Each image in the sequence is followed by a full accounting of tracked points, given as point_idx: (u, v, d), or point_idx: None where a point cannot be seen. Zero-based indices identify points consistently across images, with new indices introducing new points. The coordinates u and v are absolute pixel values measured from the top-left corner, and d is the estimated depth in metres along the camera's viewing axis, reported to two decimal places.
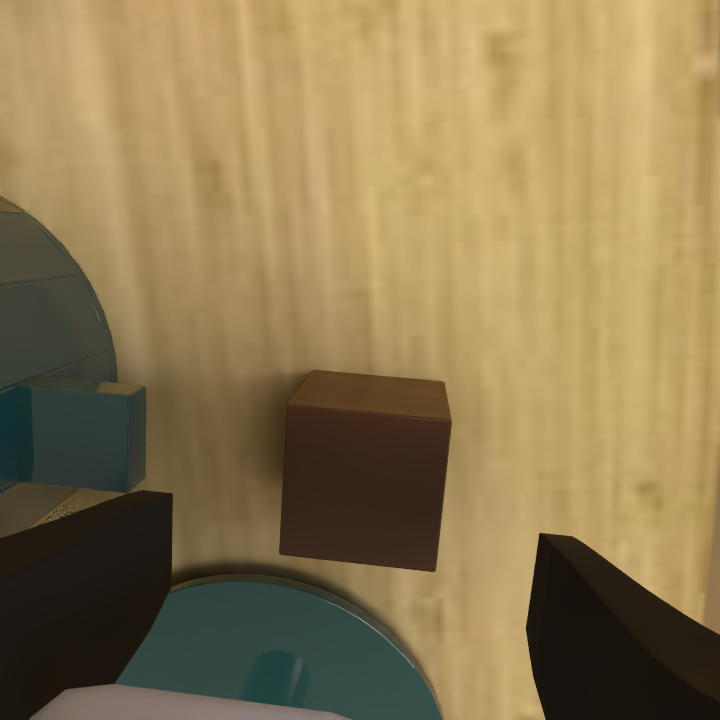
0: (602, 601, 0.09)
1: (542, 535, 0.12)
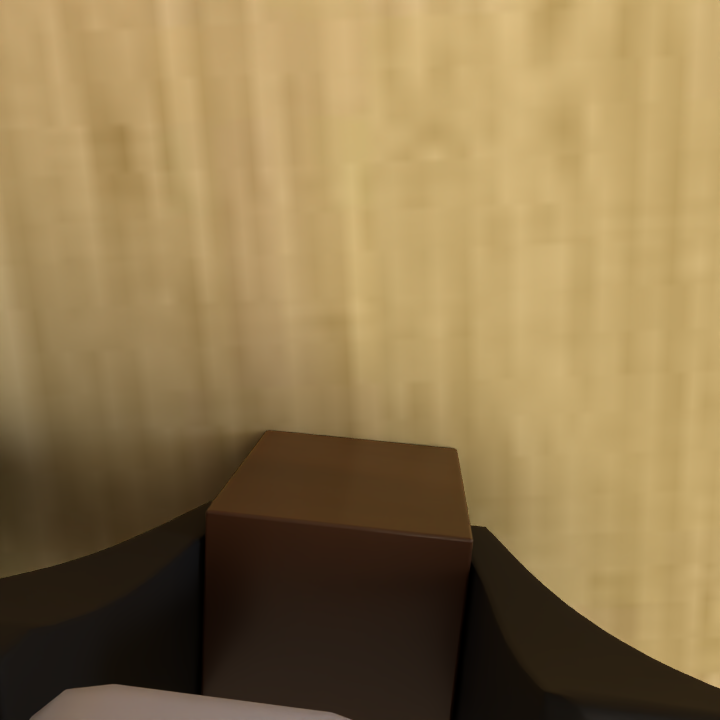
0: (484, 587, 0.09)
1: None
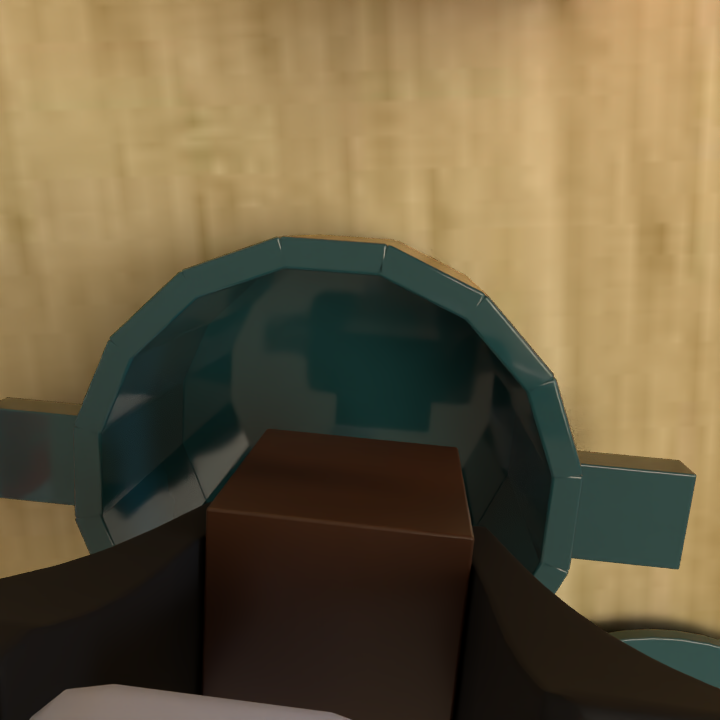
0: (484, 587, 0.09)
1: None
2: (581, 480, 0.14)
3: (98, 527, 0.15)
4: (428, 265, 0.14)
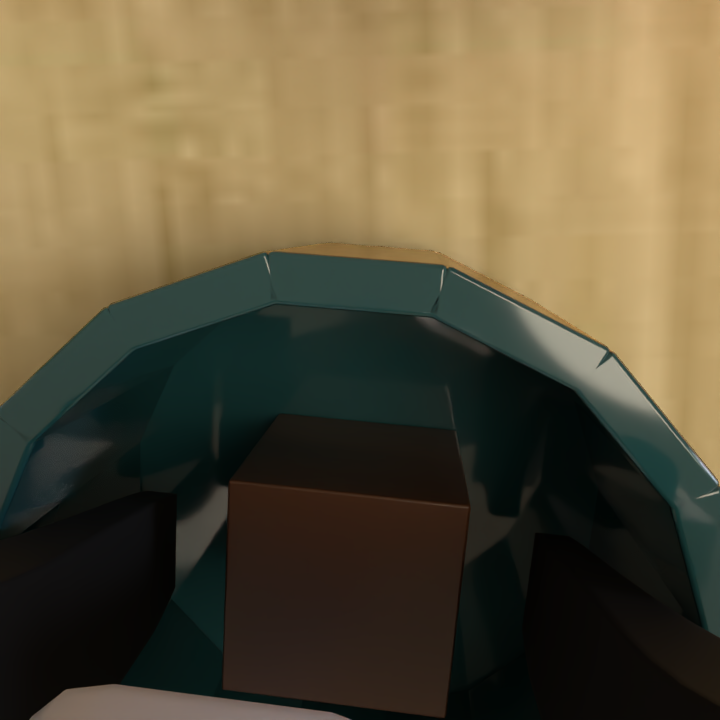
0: (596, 600, 0.09)
1: (538, 535, 0.12)
2: None
3: None
4: (515, 301, 0.08)
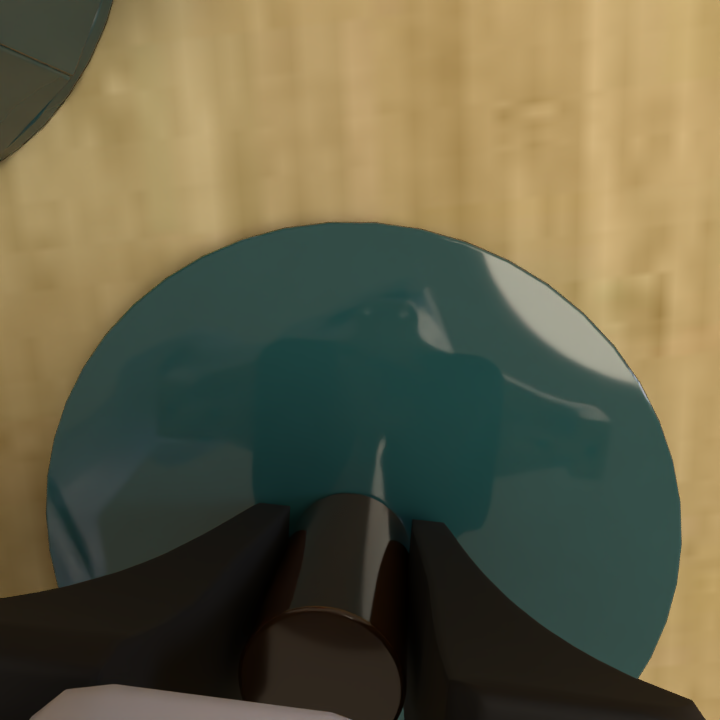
0: (428, 581, 0.09)
1: (412, 521, 0.12)
2: None
3: None
4: None
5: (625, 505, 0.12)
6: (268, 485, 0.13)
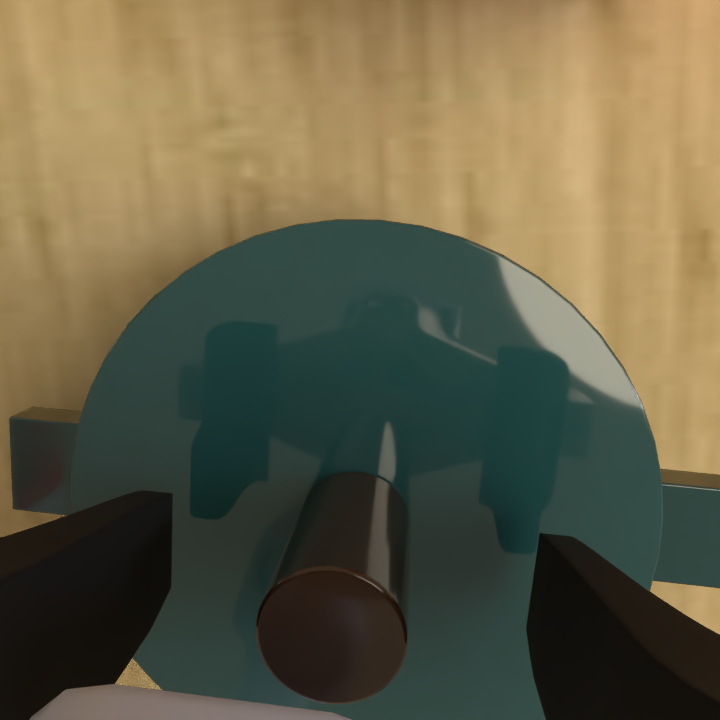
0: (602, 601, 0.09)
1: (542, 535, 0.12)
2: None
3: None
4: None
5: (611, 482, 0.13)
6: (279, 465, 0.14)
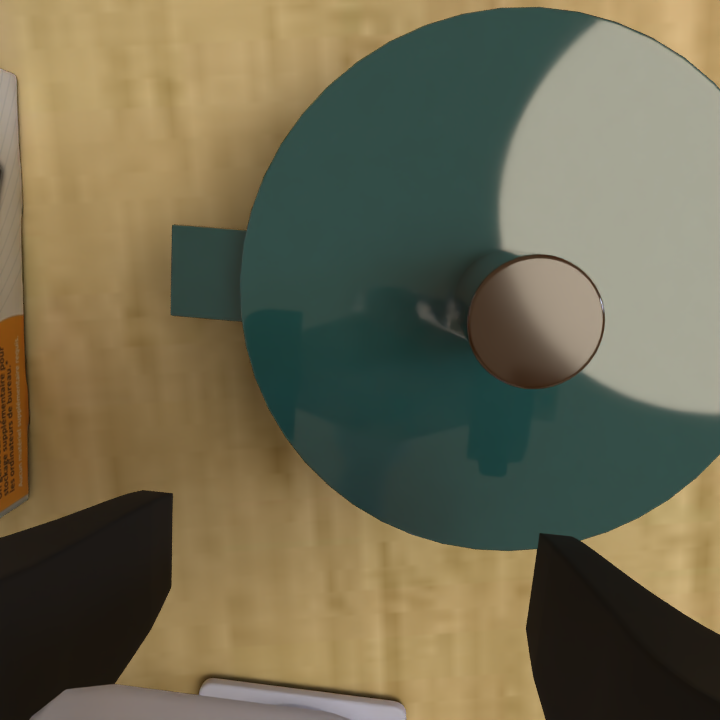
0: (602, 601, 0.09)
1: (542, 535, 0.12)
2: None
3: None
4: None
5: None
6: (436, 246, 0.15)
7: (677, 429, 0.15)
